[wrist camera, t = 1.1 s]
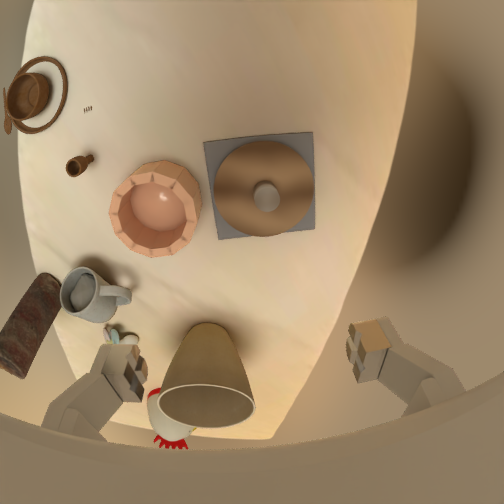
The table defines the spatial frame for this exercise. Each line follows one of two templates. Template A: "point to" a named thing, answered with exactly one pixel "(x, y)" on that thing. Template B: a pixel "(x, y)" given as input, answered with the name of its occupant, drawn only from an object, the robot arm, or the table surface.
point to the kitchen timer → (166, 425)
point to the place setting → (36, 106)
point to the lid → (263, 188)
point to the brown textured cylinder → (29, 325)
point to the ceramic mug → (91, 296)
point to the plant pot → (206, 382)
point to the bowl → (156, 209)
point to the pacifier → (114, 336)
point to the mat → (223, 148)
